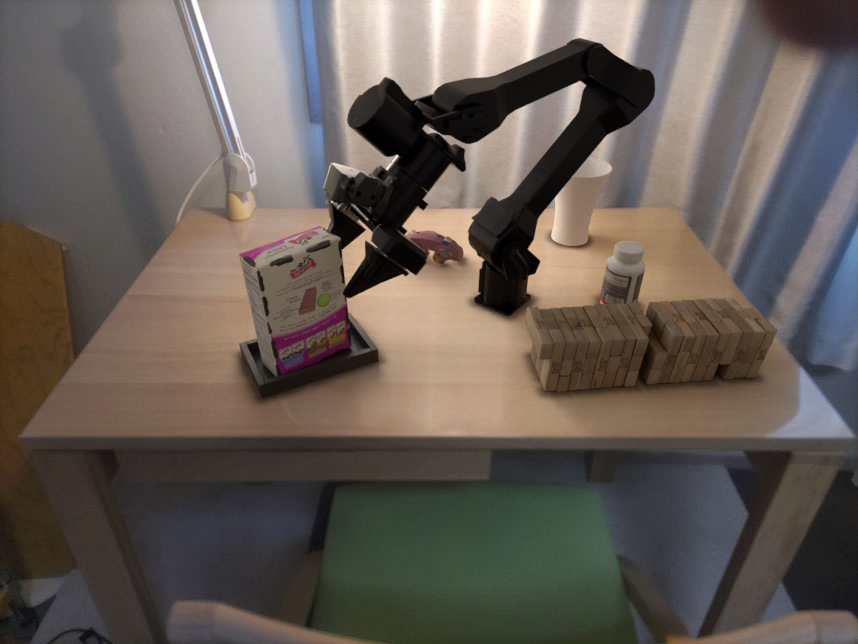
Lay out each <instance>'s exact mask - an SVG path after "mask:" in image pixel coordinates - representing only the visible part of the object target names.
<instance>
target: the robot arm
mask: <svg viewBox="0 0 858 644" xmlns="http://www.w3.org/2000/svg"><path fill="white" fill-rule="evenodd" d="M578 82H580V83H582V84H583V85H584V88H583V89H582V92H581V98H580V102H579V108H578V111H577V113H576V114H575V116H574V117H573V118H572V120H571V121H570V122H569V124H567V125H566V127H565V128H564V129H563V131H562V132H561V133H560V134H559V136H558V137H557V138H556V139H555V141H554V142H553V143H552V144H551V145H550V147H549V148H548V149H547V150H546V152H544V154H543V155H542V156H541V158H540V159H539V160H538V161H537V162H536V164H535V165H534V166H533V167H532V169H531V170H530V171H529V173H527V175H526V176H525V177H524V178H523V180H522V181H521V182H520V183H519V184H518V186H517V187H516V188H515V190H513V192H512V193H511V194H510V195H508V196H507V197H505V198H502V199H500V200H498V199H496V198H495V197H493V196H490V197H489V198H488V199H486V201H485V202H484V204H483V205H482V207H481V208H480V209H479V211H478V212H477V213H475V214H474V215H472V216H471V220H472V222H471V224H470V225H469V227H468V230H467V233H468V235H467V236H468V238H467V240H468V243H469V246H470V247H471V248H472V249H473V250H474V251H475V252H476V255H477V256H478V257H479V258H481V259H482V262H481V268H480V269H479V270H478V287H477V291H478V293H479V294H477V295H476V296H475V297H473V302H474V303H476V304H479V305H481V306H483V307H486V308H488V309H491V310H493V311H495V312H497V313H500V314H503V315H505V316H507V317H510V316H512V315H513V314H515V312H517V311H518V310H519V309H520V308H522V307H523V306H524V305H525V304H526V303H528V302H529V301H530V300H532V294H530V293H528V292H527V291H528V283H529V277H530V276H533V275H536V273H537V271H538V268H539V266H540V264H541V259H539V258H538V257H537V256H536V255H535V254H534V253H533V252H532V251H530V249H529V248H530V247H531V245H532V243H533V242H534V239H535V236H536V232H537V226H538V220H539V218H540V217H541V215H542V214H543V213H544V212H545V211H546V210H547V208H548V207H549V205H551V203H552V202H553V201H554V200H555V197H556V196H557V195H558V193H559V192H560V191H561V190H562V188H563V187H564V186H565V185H566V184H567V182H568V181H569V180H570V179H571V178H572V176H573V175H574V174H575V173H576V172H577V170H578V169H579V168H580V167H581V166H582V164H583V163H584V162H585V161H586V159H587V158H588V157H589V156H590V157H591V155H592V153H593V152H594V151H595V150H596V149H597V148H598V147H599V145H600V144H601V143H602V142H603V140H604V139H605V138H606V137H607V136H608V135H609V134H612V133H614V132H616V131H618V130H621V129H622V128H624V127H627V126H628V125H630V124H632V123H633V122H634V121H635V120H636V119H637V118H638V117H639V116H640V115H642V114H643V113H644V111H646V109H647V108H648V107H649V106H650V105H651V103H652V102H653V100H654V98H655V96H656V95H655V94H656V79H655V75H654V73H653V72H652V71H651V70H649V69H647V68H643V67H640V66H636V65H633V64H631V63H630V62H627V61H626V60H624V59H623V58H621V57H619V56H618V55H616V54H614V53H613V52H612V51H611V50H609V49H608V48H607V47H606V46H605V45H604V44H603V43H601V42H597V41H593V40H589V39H586V38H581V37H577V38H574V39H571V40H569V41H567V43H566V44H565V45H562V46H560V47H557V48H555V49H552V50H551V51H549V52H546V53H544V54H542V55H539V56H537V57H534V58H532V59H530V60H528V61H526V62H523V63H521V64H519V65H516V66H513V67H511V68H510V69H507V70H505V71H502V72H500V73H497V74H495V75H491V76H483V77H467V78H462V79H457V80H453V81H448V82H444V83H443V84H441V85H439V86H438V87H437V88H436V89H435V90H433V93H430V94H427V95H424V96H421V97H417V98H414V99H411V98H409V96H408V95H407V94H406V93H405V92H404V90H403V89H402V87H401V86H400V85H399V84H398V83H397V82H396V81H395V80H394V79H393V78H390V77H388V76H384V77H383V78H382V80H381V81H380V82H379V83H378V84H375V85H372V86H371V87H369V88H367V89H366V90H365V91H364V92H363V93H362V94H359V95H358V96H357V97H356V98H355V99H354V101H353V103H352V104H351V106H350V108H349V110H348V113H347V117H346V122H347V125H348V127H349V128H350V129H351V130H352V131H354V132H355V133H356V134H357V135H359V136H360V137H361V138H362V139H364V140H365V141H366V142H367V143H368V144H369V145H371V147H373V148H374V149H375V150H376V151H378V152H379V153H380V154H381V155H382V156H384V157H386V158H391V157H394V156H395V157H394V158H393V159H392V160H391V162H390V163H389V165H388V166H387V167H386V168H385V167H384V166H382V165H381V164H380V165H379V166H376V167H375V168H374V169H373V170H372V172H371V173H368V172H365V171H362V170H360V169H357V168H354V167H350V166H347V165H343V164H339V163H336V162H331V163H330V165H329V168H328V171H327V174H326V177H325V180H324V183H323V186H322V189H323V191H325V192H324V195H325V196H326V197H328V199H329V200H328V199H326V200H325V204H326V206H327V209H328V215H329V222H328V224H327V227H326V230H328V231H330V232H331V233H333V234H335V235H336V236H338V237H340V238H341V247H342V251H343V250H344V249H345V248H347V246H349V245H350V244H351V243H352V242H353V241H355V240H356V239H358V238H359V237H360V236H361V235H362V234H363V233H365V232H366V231H367V229H366V228H365V226H366V227H367V228H368V230H370V231H371V239H370V241H368V240H364V258H363V260H362V261H361V262H360V264H359V265H358V267H357V269H356V270H355V271H354V273H353V275H352V276H351V277H350V279H349V280H348V282H347V283H346V285H345V286H346V288H345V289H344V291H343V295H344V296H345V297H347V299H352V298H354V297H356V296H358V295H360V294H362V293H364V292H366V291H367V290H370V289H372V288H374V287H376V286H378V285H381V284H382V283H385V282H387V281H390V280H393V279H395V278H397V277H400V276H402V275H403V276H405V277H408V276H409V274H410V273H411V274H413V275H414V276H418V274H419V273H420V272H421V271H422V269H423V268H424V267H425V266H426V265H427V260H426V252H424V251H423V250H422V249H421V248H420V247H419V246H418V245H417V244H416V243H415V242H413V241H412V240H411V239H409V238H408V237H407V236H406V234H407V232H408V229H406V228H405V227H404V225H405V223H406V222H407V221H408V220H409V218H410V217H411V216H412V215H413V213H414V212H415V211H416V210H417V208H419V209H421V211H425V209H426V208H427V207H428V206H429V203H428V202H427V201H426V200H424V199H425V198H426V196H428V194H429V193H430V191H431V190H432V189H433V187H434V186H435V185H436V184H437V182H438V181H439V180H440V179H441V177H442V176H443V175H444V173H445V172H446V171H447V170H448V169H449V167H450V166H452V167H453V168H454V169H456V170H458V171H459V172H461V173H465V172H466V171H467V164H466V159H465V155H466V154H465V153H466V148H464V147H462V146H461V145H459V144H457V143H454V144H450V143H449V141H447V139H445V138H444V136H449V137H451V138H453V139H455V140H457V141H458V142H460V143H462V144H465V145H472V144H475V143H478V142H480V141H481V140H483V139H485V138H486V137H487V136H489V135H491V134H492V133H493V132H494V131H496V130H498V129H499V128H501V126H502V125H503V123H504V121H505V120H506V119H507V117H508V116H509V115H511V114H512V113H514V112H515V111H517V110H520V109H521V108H524V107H526V106H529V105H530V104H533V103H534V102H537V101H540V100H541V99H543V98H545V97H548V96H550V95H553V94H555V93H557V92H559V91H561V90H563V89H565V88H568V87H570V86H572V85H574V84H577V83H578ZM425 126H427V127H428V128H430V129H432V130H433V131H434V132H429V133H428V132H426V131H425V130H424V127H425ZM359 221H360V222H361V223H362V224H363V225H364V226H363V225H362V224H361V223H360V222H359ZM373 244H374V245H373Z"/></svg>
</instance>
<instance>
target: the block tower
mask: <svg viewBox="0 0 858 644" xmlns="http://www.w3.org/2000/svg"><path fill="white" fill-rule="evenodd" d="M524 323H525V326H526V329H527V331H528V334H529V336H530V339H531V342H532V346H531V353H530V359H531V361H532V363H533V366H534V367H535V370H536V373H537V375H538V378H539V381H540V384H541V386H542V389H543V391H545V392H553V391H555V392H556V393H557V392H558V393H559V392H567V391H577V390H590V389H601V388H604V389H605V388H612V387H622V386H624V387H634V386H636V384H637V381H638V376H639V373H640V376H641V377H642V379H643V381H644V383H645V384H646V385H657V384H667V383H670V384H677V383H678V384H679V382H680V383H688V382H691V383H692V382H693V383H694V382H701V381H712V380H713V379H714V376H715V374H716V372H717V373H718V375H719V376H720V378H722V380H733V379H744V378H745V379H755V378H757V376H758V374H759V371H760V369H761V367H762V365H763V363H764V360H765V358H766V356H767V354H768V352H769V350H770V348H771V346H772V343H773V341H774V339H775V337H776V335H777V333H778V329H777V328H776V327H775V325H774V324H773V323H771V322H770V321H769V319H767V318H765V316H764V315H763V314H762V313H761V312H760V311H759V310H758V309H757V308H756V307H743V306H742V305H741V304H740V303H739V302H738V301H737V300H736V299H735V298H734V297H732V296H731V297H724V298H718V297H717V298H711V297H710V298H707V297H706V298H702V299H701V298H695V299H692V300H691V299H681V300H671V301H669V300H661V301H649V302H648V305H647V308H646V311H645V312H644V310H643V309H642V308H641V306H640V305H639V303H638V302H637V303H636V302H635V303H627V304H616V305H615V304H606V305H604V304H600V303H597V304H593V305H592V304H590V305H585V304H584V305H582V306H562V307H549V308H539V307H538V306H527V308H526V314H525V321H524Z"/></svg>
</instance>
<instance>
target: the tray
mask: <svg viewBox="0 0 858 644" xmlns="http://www.w3.org/2000/svg"><path fill="white" fill-rule="evenodd" d="M348 315H349V325H350V335H351V344H352V346H351V347H349V348H347V349H345V350H343V351H341V352H339V353H337V354H335V355H333V356H331V357H329V358H327V359H325V360H323V361H321V362H319V363H317V364H315V365H312V366H309V367H306V368H302V369H299V370H296V371H293V372H289V373H286V374H283V375H280V376H276V377H275V376H274V374H273V373H272V372H271V371H270V370H268V369H267V368H266V367H265V366H264V364H263V363H262V359H261V354H260V349H259V345H258V340H257V338H254V339H249V340H247V341H243V342H239V343H238V344H239V349H240V354H241V357H242V359H243V361H244V363H245V365H246V368H247V370H248V372H249V375H250V377H251V379H252V381H253V383H254V385H255V388H256V391H257V393H258V395H259V397H260V398H261V399H264V398H266V397H270V396H272V395H273V396H274V395H277V394H280V393H283V392H286V391H289V390H292V389H295V388H297V387H298V388H299V387H301V386H304V385H307V384H311V383H313V382H314V383H315V382H317V381H320V380H323V379H326V378H329V377H333V376H336V375H338V374H342V373H345V372H348V371H351V370H352V371H353V370H355V369H358V368H362V367H364V366H367V365H370V364H373V363H377V362H379V349H378V347H377V345H376V344H375V343H374V342H373V341H372V339H371V338H370V337H369V335H368V334H367V333H366V331H365V330H364V329H363V327H362V326H361V325H360V324H359V322H358V321H357V319H356V318H355V317H354V315H353V314H352V313H351V312H348Z"/></svg>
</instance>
